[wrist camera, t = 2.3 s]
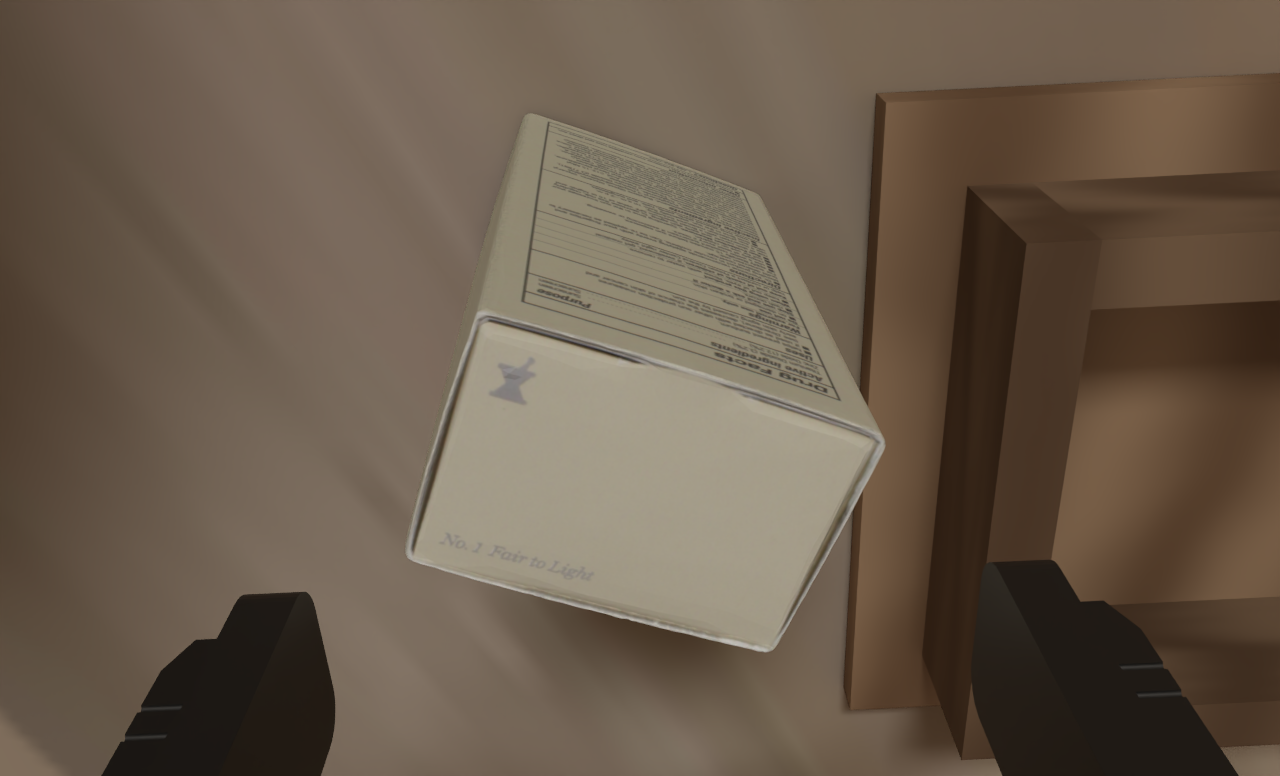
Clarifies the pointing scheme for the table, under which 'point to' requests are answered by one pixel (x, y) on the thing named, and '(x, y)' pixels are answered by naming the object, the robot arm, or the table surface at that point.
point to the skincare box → (641, 401)
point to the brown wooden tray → (1074, 382)
